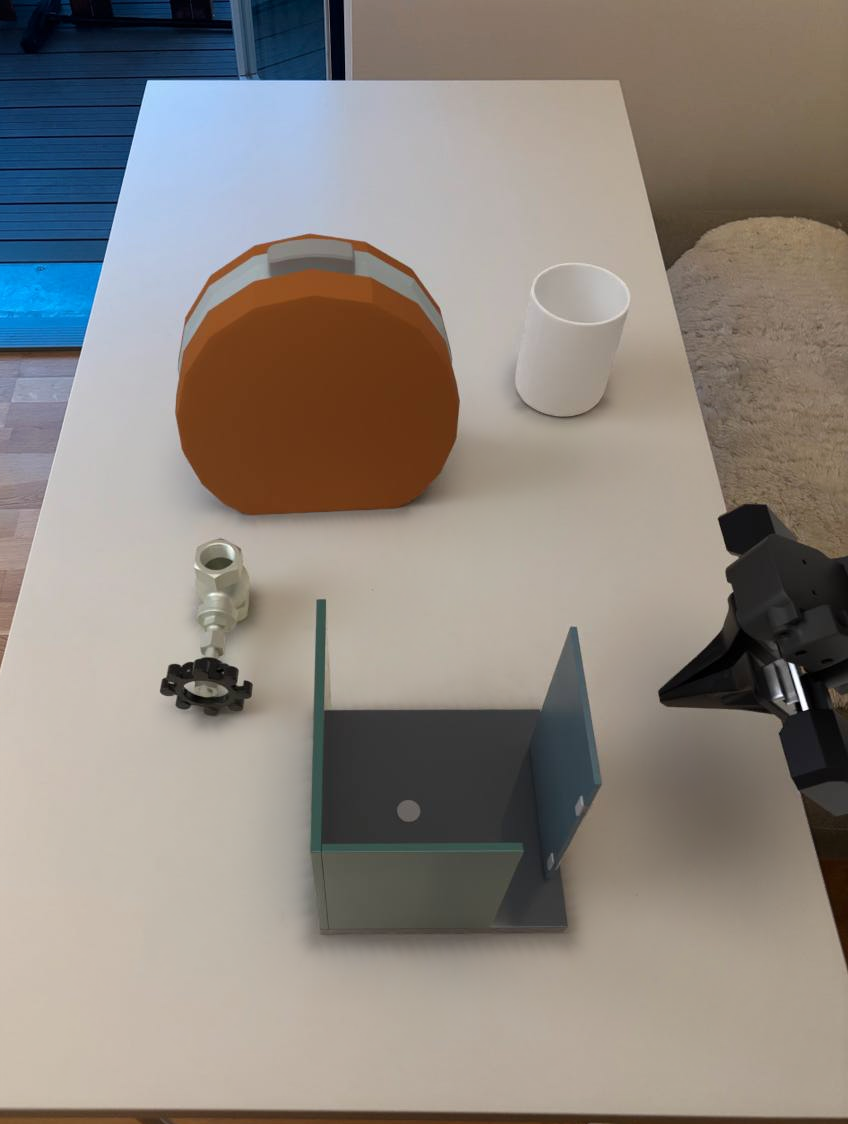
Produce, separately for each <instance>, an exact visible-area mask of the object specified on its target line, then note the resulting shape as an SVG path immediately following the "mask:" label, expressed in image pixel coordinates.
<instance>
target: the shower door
mask: <svg viewBox="0 0 848 1124" xmlns="http://www.w3.org/2000/svg"><path fill="white" fill-rule="evenodd" d="M582 656H583V655H582V650H581V644H580V638H579V633H578V627H577V626H569V629H568V631H567V634H566V638H565V640H564V644H563V646H562V649H561V651H560V655H559V657H558V661H557V663H556V666H555V670H554V672H553V675H552V677H551V680H550V683H549V686H548V689H547V691H546V695H545V698H544V700H543V704H542V706H541V709H540V714H539V717H538V720H537V723H536V726H535V729H534V731H533V734H532V737H531V740H530V743H529V745H530V753H531V762H532V770H533V779H534V787H535V796H536V804H537V813H538V821H539V830H540V838H541V847H542V855H543V864H544V872H545V878H551V877H552V875H553V873H554V872H555V870H557V869H558V867H559V865H560V866H561V864H562V859H563V857H564V855H565V853H566V851H567V850H568V848H569V846H570V844H571V842H572V840H573V839H574V837H575V835H576V833H577V832H578V830H579V828H580V826H581V824H582V822H583V820H584V819H585V817H587V815H588V814H589V812H590V810H591V808H592V807H593V802H594V800H595V799H596V797H597V795H598V793H599V791H600V790H601V787H602V786H603V781H602V776H601V768H600V762H599V755H598V749H597V744H596V737H595V732H594V730H595V729H594V724H593V718H592V712H591V705H590V700H589V693H588V687H587V681H586V675H585V668H584V661H583V657H582Z"/></svg>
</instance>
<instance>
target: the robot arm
mask: <svg viewBox="0 0 848 1124" xmlns="http://www.w3.org/2000/svg"><path fill="white" fill-rule="evenodd" d="M717 522H718V525H719V528H720V532H721V535H722V539H723V542H724V545H725V550H726V552H727V553H729V554H730V555H731V556H735V557H738V558H737V559H735V560H734V561H733V562H731V563H730V564H729V565H728V566H726V568H725V573H724V574H725V579H726V582H727V583H728V584H730V585H731V588H732V592H730V594H729V595H728V597H727V599H726V600H727V605H728V610H727V613H726V616H725V619H724V622H723V625H722V627H721V629H720V631H719V632H718V633H717V634H716V635H715V637H714V638H713V639H712V640H711V641H710V642H709V643H708V644H707V645H706V646H705V647H704V648H703V649H702V650H701V651H700V652H699V653H698V654H696V656H695V657H693V659H691V660H690V661H689V662H688V663H687V664H686V665H685V666H683V667H682V668H681V669H680V670H679V671H678V672H677V673H676V674H674V675H673V676H672V677H671V678H670V679H669V680H667V682H666V683H664V685H662V686H661V687H660V688H659V689H658V690H657V695H658V699H659V701H658V702H659V703H660V704H661V705H663V706H665V707H666V708H677V709H678V708H682V709H707V710H708V709H709V710H728V711H729V710H732V711H733V710H734V711H743V712H752V713H759V714H766V715H772V716H775V717H776V718H777V719H779V720H780V721H781V722H783V725H782V727H781V728H780V730H779V732H778V737H779V740H780V743H781V747H782V751H783V754H784V758H785V761H786V764H787V768H788V771H789V776H790V778H791V780H792V782H793V785H794V786H795V787H796V789H797V791H798V792H800V793H801V794H803V795H804V796H805V797H807V798H808V799H810V800H811V801H812V802H814V803H816V804H817V805H819V806H820V807H821V808H822V809H824V810H826V811H827V812H828V813H830V814H832V815H833V816H834V817H840V816H844V815H847V814H848V721H847V720H846V719H845V718H844V717H843V716H841V715H840V713H838V712H837V711H836V709H835V706H834V703H833V699H832V697H831V694H830V690H831V689H833V690H834V691H836V692H837V693H838V694H839V695H840V696H844V695H848V555H844V556H840V557H833V558H831V557H829V556H827V555H826V554H825V553H824V552H822V551H821V550H819V549H818V548H815V547H812V546H809V545H806V544H804V543H801V542H799V541H798V540H797V536H796V535H795V534H794V533H793V532H792V530H790V529H789V528H788V526H787V525H786V524H785V523H784V522H783V521H782V520H781V519H780V517H778V516H777V514H776V513H775V512H774V511H773V510H772V509H771V508H770V507H769V506H768V504H765V503H742V504H741V505H738V506H736V507H734V508H732V509H730V510H728V511H726V512H724V513H722V514H720V515H719V516H718V517H717ZM802 669H803V671H804V672H802Z"/></svg>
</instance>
